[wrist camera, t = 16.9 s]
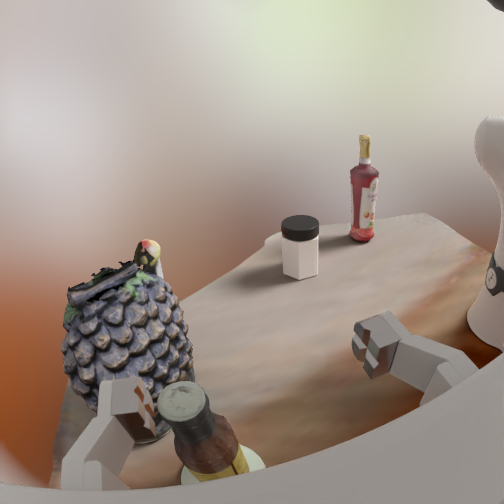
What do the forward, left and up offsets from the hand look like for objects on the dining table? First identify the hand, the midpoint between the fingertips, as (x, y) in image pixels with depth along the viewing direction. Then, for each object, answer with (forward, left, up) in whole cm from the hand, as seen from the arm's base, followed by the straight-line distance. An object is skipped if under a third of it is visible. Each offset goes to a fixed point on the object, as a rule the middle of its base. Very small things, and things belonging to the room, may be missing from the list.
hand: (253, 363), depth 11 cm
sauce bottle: (+7, -5, -31) cm, 32 cm away
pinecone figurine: (+22, -16, -32) cm, 42 cm away
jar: (+2, -55, -32) cm, 64 cm away
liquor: (-14, -71, -32) cm, 79 cm away
